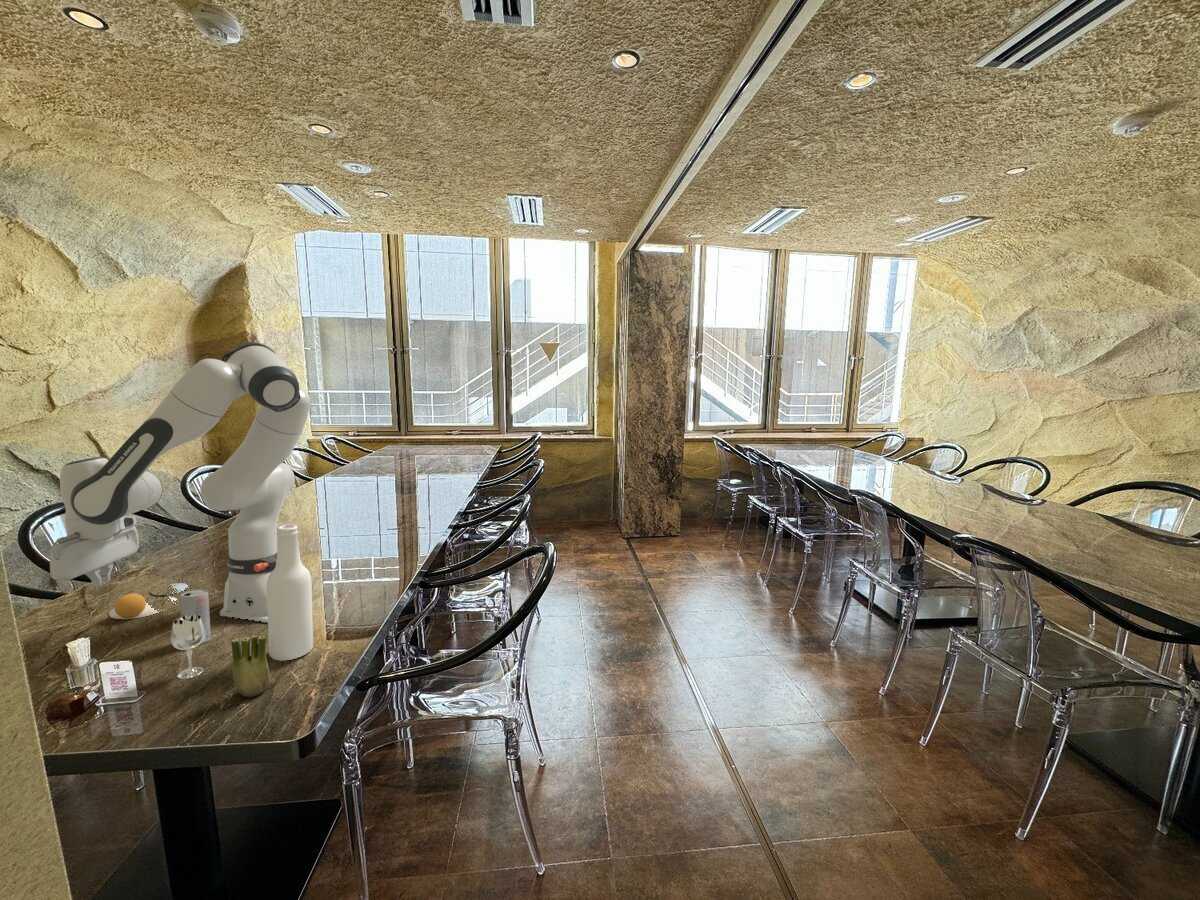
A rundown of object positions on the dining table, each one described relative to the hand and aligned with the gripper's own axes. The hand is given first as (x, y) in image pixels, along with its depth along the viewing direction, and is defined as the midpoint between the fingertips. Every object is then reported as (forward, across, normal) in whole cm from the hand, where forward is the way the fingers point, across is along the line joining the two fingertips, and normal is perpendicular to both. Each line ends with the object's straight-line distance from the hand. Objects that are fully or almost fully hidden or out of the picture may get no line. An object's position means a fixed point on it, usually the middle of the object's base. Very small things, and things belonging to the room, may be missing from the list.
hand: (101, 584), depth 124 cm
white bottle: (+16, -8, -46) cm, 49 cm away
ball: (+10, +10, +2) cm, 14 cm away
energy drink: (+14, -3, -22) cm, 26 cm away
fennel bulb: (+16, -24, -45) cm, 54 cm away
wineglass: (+15, -17, -29) cm, 37 cm away
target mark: (+12, +16, +3) cm, 20 cm away
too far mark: (+12, +28, +5) cm, 31 cm away
